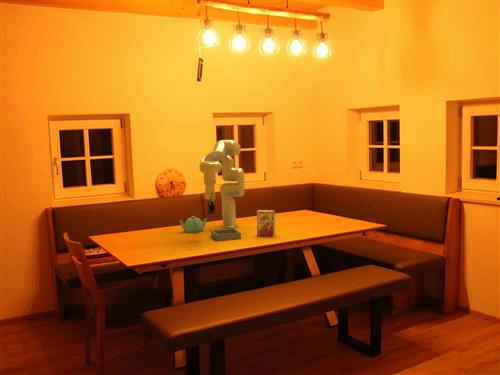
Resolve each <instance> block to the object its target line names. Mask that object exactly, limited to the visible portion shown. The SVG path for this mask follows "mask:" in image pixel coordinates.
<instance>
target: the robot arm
mask: <svg viewBox="0 0 500 375" xmlns="http://www.w3.org/2000/svg"><path fill="white" fill-rule="evenodd" d="M241 149H242V148H241V145H240V144H239V143H238V142H237V141H236V140H234V139H222V140H218V141H216V143H215V145H214V147H213V150H212V151H210V152H209V153H207V154H206V155H204V156H203V157H202V159H201V160H200V163H199V171H200V172H201V173H202V174H203V185H205V186H204V193H205V194H204V199H205V200H207V201H209V202H210V205H209V210H210V211H215V208H216V207H215V200H216V187H215V186H216V184H217V179H216V178H217V176H216V174H218V173H221V178H222V180H223V181H225V183H222V184H221V185H220V187H219V189H220V190H219V191H220V196H221V210H222V211H221V216H222V224H221V225H220V228H222V229H233V228H238V227H239V224H238V223H237V221H236V220H237V219H236V218H237V217H236V215H237V214H236V201H235V199H234V197H243V196H244V195H245V172H244V169H243V168H242V167H235V166H234V163H235V162H234V159H233V158H232V157H233V156H239V155H240V154H241V151H242V150H241ZM214 207H215V208H214ZM215 212H216V211H215Z"/></svg>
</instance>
